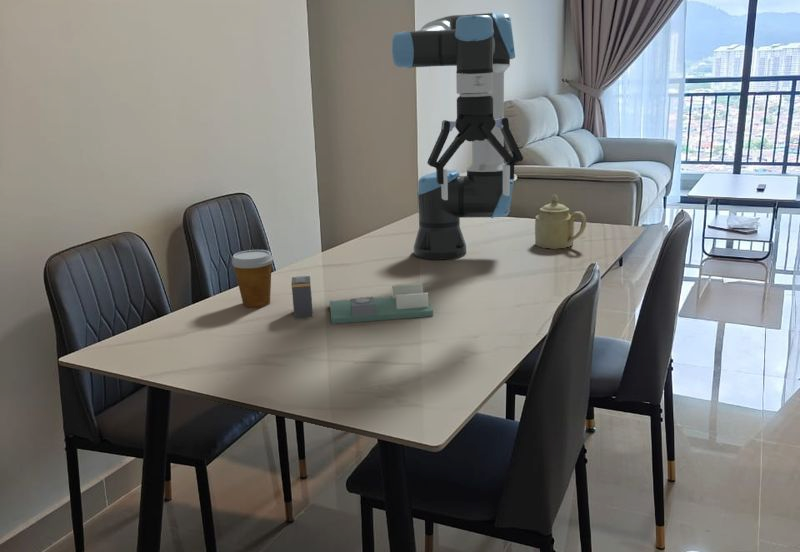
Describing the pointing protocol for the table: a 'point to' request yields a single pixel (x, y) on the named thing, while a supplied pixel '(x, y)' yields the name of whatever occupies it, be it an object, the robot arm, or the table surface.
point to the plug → (302, 297)
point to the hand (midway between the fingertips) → (475, 197)
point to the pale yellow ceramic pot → (556, 226)
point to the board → (383, 306)
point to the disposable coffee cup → (253, 276)
